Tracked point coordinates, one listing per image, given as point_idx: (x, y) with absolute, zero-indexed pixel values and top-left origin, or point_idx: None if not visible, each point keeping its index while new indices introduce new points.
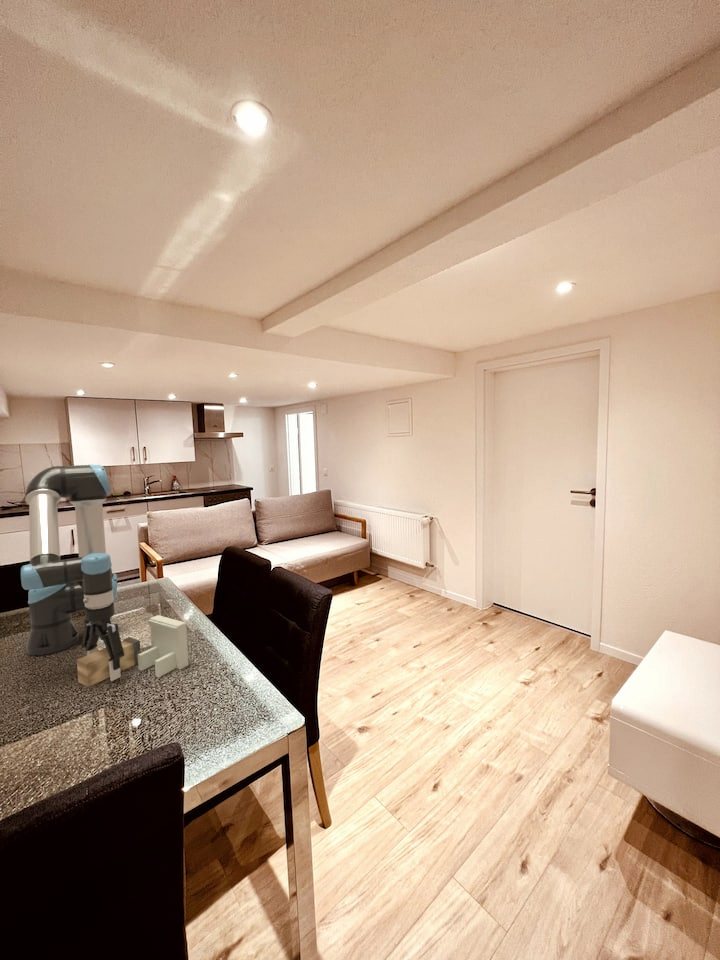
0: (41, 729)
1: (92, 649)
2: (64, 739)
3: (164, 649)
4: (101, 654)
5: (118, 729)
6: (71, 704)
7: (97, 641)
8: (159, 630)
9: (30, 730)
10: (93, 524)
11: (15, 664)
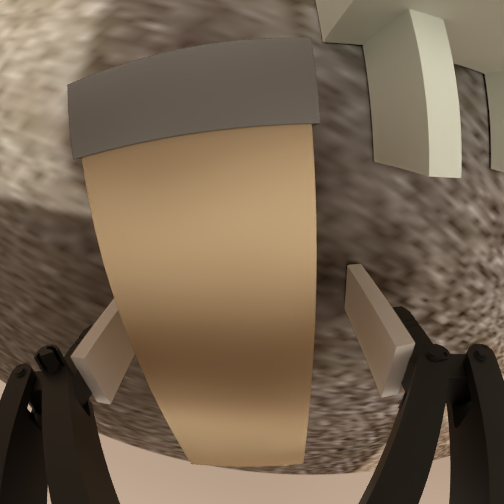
0: (372, 450)
1: (85, 379)
2: (445, 424)
3: (497, 43)
4: (249, 408)
5: None
6: (344, 414)
7: (71, 409)
8: None
9: (351, 459)
10: None
11: None
